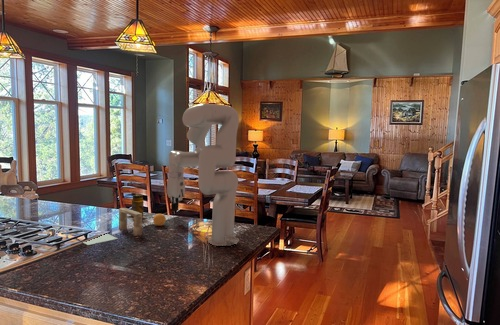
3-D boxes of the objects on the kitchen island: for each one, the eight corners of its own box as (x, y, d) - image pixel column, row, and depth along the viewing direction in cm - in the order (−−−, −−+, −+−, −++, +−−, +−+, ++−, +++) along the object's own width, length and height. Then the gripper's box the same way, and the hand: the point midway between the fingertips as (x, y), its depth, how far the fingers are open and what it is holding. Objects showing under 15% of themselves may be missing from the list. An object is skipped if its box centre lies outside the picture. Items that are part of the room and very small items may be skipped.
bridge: (124, 227, 171) (124, 207, 170) (141, 234, 161) (142, 213, 160) (118, 228, 169) (119, 208, 168) (135, 235, 159) (136, 214, 158)
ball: (168, 225, 177) (168, 214, 177) (157, 227, 173) (157, 215, 172) (161, 223, 181) (161, 211, 181) (150, 225, 177) (151, 213, 176)
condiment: (146, 217, 192) (146, 195, 191) (131, 219, 186) (131, 197, 185) (139, 214, 197) (140, 193, 196) (125, 216, 191) (125, 194, 190)
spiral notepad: (117, 238, 154) (117, 238, 154) (87, 245, 144) (87, 244, 144) (103, 232, 162) (103, 231, 162) (74, 237, 153) (74, 237, 153)
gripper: (191, 176, 180) (189, 211, 182) (173, 172, 190) (172, 206, 192) (179, 177, 174) (177, 214, 176) (161, 173, 184) (160, 208, 186)
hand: (174, 209), depth 184 cm, fingers closed
